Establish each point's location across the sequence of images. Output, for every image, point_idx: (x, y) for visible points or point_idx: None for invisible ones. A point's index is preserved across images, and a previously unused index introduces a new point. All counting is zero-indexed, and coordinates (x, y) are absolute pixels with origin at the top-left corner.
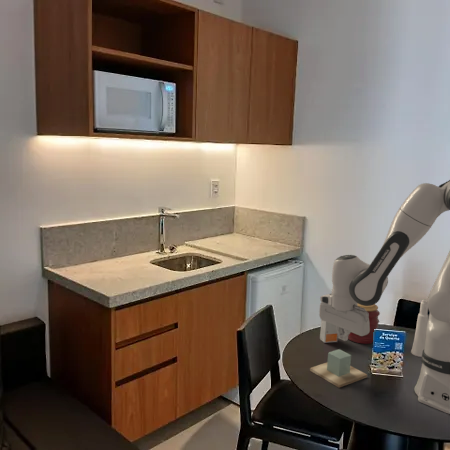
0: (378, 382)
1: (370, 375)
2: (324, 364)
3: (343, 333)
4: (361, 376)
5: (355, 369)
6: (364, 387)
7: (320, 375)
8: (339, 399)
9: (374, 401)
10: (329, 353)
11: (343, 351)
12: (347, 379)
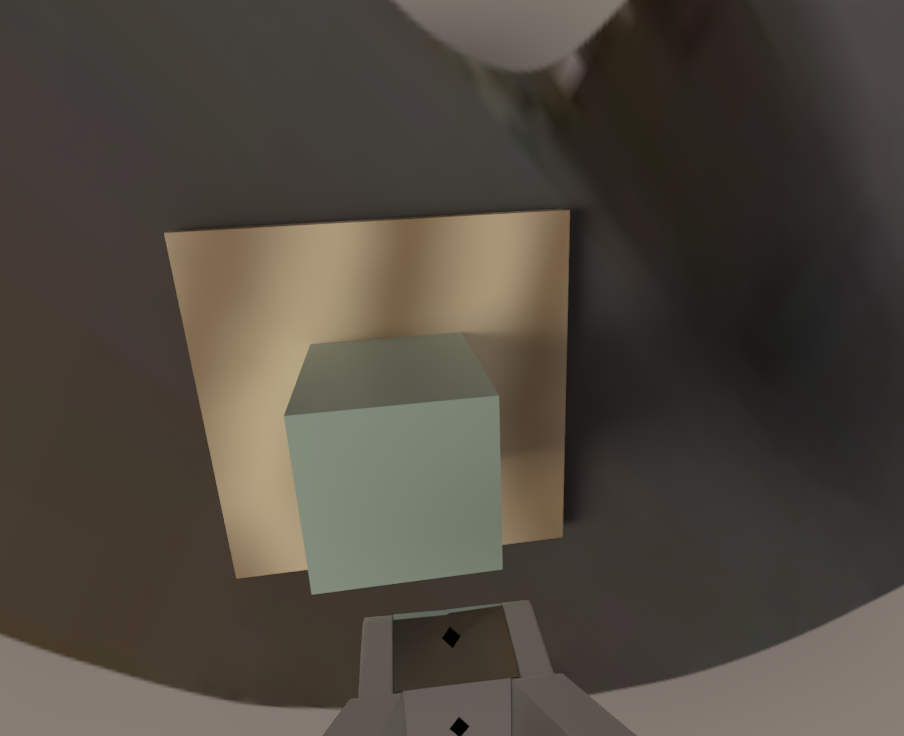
0: (673, 186)
1: (555, 147)
2: (228, 435)
3: (412, 689)
4: (564, 287)
5: (442, 236)
6: (654, 357)
7: None
8: (652, 601)
9: (802, 429)
10: (334, 590)
11: (369, 412)
12: (537, 431)
